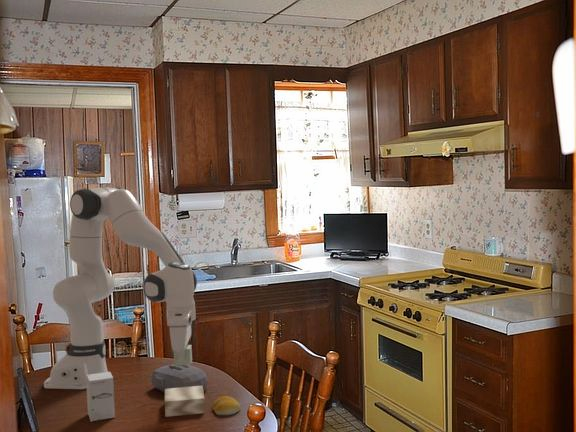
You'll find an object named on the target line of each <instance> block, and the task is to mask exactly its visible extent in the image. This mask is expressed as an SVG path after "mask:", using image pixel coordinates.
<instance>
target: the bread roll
mask: <svg viewBox="0 0 576 432" xmlns="http://www.w3.org/2000/svg"><path fill="white" fill-rule="evenodd" d="M212 409H213V411H214V413H215V414H216V415H217V416H231V415H234V414H236V413H238V412H239V411H240V409H241V404H240V403H239V401H237V400H236V398H234V397H231V396H227V395H225V396H220V397H219V398H217V399H215V401H213V403H212Z"/></svg>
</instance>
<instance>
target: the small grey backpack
mask: <svg viewBox="0 0 576 432" xmlns="http://www.w3.org/2000/svg"><path fill="white" fill-rule="evenodd" d="M150 378H151V379H150V380H151V383H152V387H153V388H155V389H156V390H158V391H160V392H162V393H165V389H169V388H180V387H192V386H203V392H205V391H206V389H207V386H208V381H209V378H208V375H207V373H206V372H204V370H202V369H201V368H200V367H196V366H194V365H179V366H174V363H173V364H167V365H163V366H161V367H158V368H156V369H155V370H154V371H153V372H152V374H151V377H150Z"/></svg>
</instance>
